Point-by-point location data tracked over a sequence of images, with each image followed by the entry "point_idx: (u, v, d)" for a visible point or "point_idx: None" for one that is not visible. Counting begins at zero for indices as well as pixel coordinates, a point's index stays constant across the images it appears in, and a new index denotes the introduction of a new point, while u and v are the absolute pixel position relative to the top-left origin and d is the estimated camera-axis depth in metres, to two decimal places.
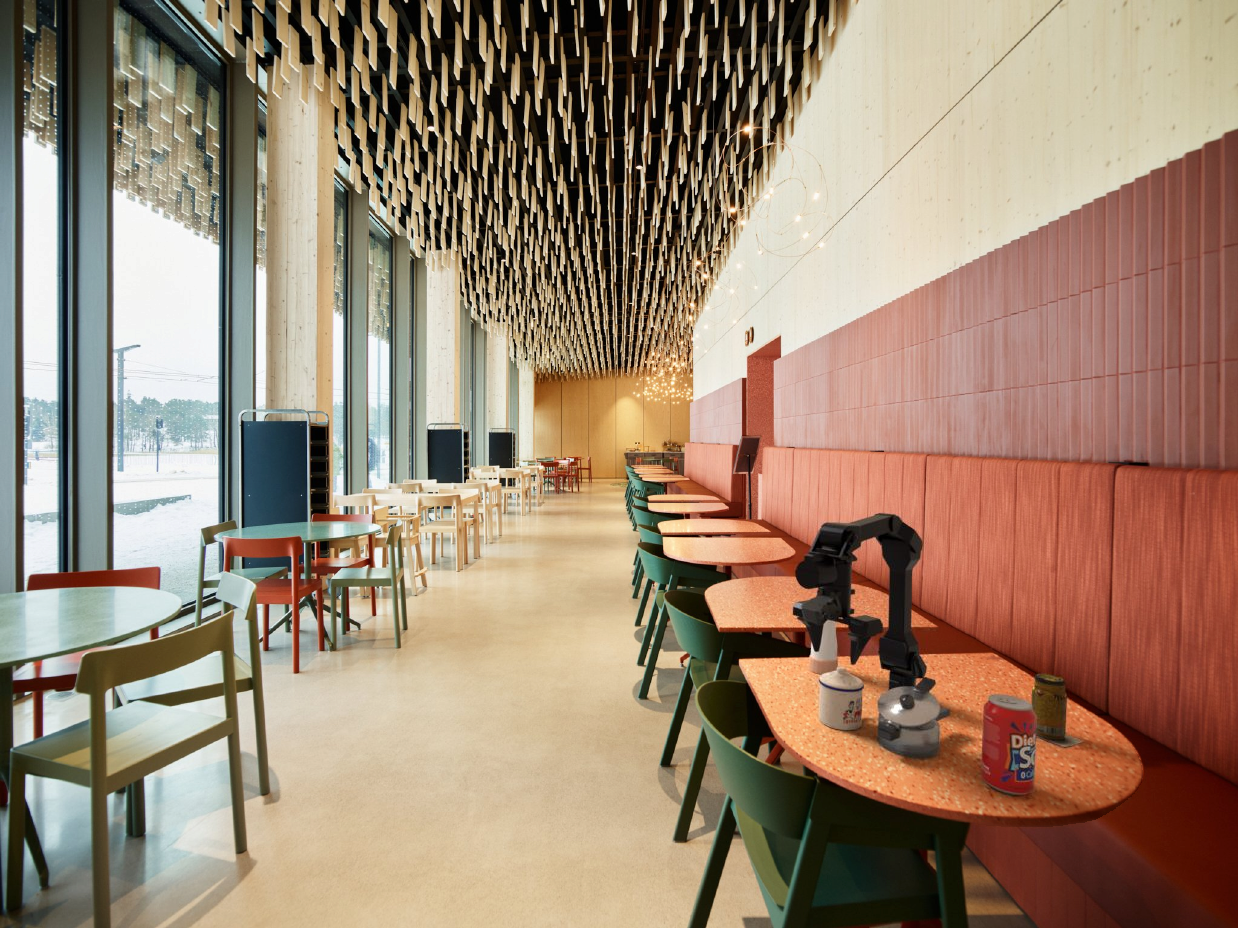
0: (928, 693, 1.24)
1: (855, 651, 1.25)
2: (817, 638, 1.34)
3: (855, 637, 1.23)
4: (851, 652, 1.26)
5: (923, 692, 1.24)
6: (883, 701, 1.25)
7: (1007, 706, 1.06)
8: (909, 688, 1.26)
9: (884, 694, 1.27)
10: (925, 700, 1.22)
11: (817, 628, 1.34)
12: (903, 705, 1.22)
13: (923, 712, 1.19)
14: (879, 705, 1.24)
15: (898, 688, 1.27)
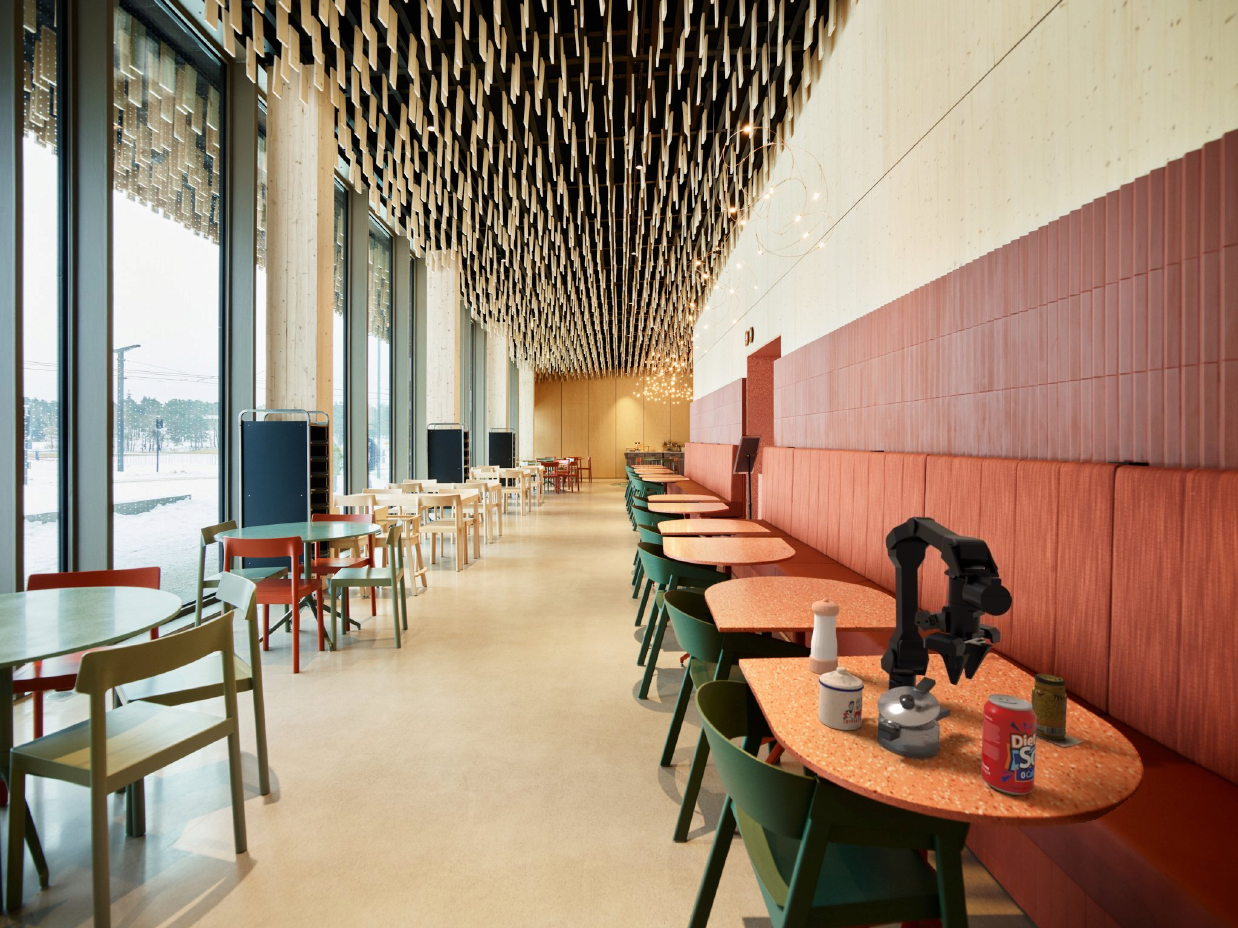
0: (928, 693, 1.24)
1: (947, 668, 1.21)
2: (969, 664, 1.24)
3: None
4: None
5: (923, 692, 1.24)
6: (883, 701, 1.25)
7: (1007, 706, 1.06)
8: (909, 688, 1.26)
9: (884, 694, 1.27)
10: (925, 700, 1.22)
11: (972, 654, 1.24)
12: (903, 705, 1.22)
13: (923, 712, 1.19)
14: (879, 705, 1.24)
15: (898, 688, 1.27)
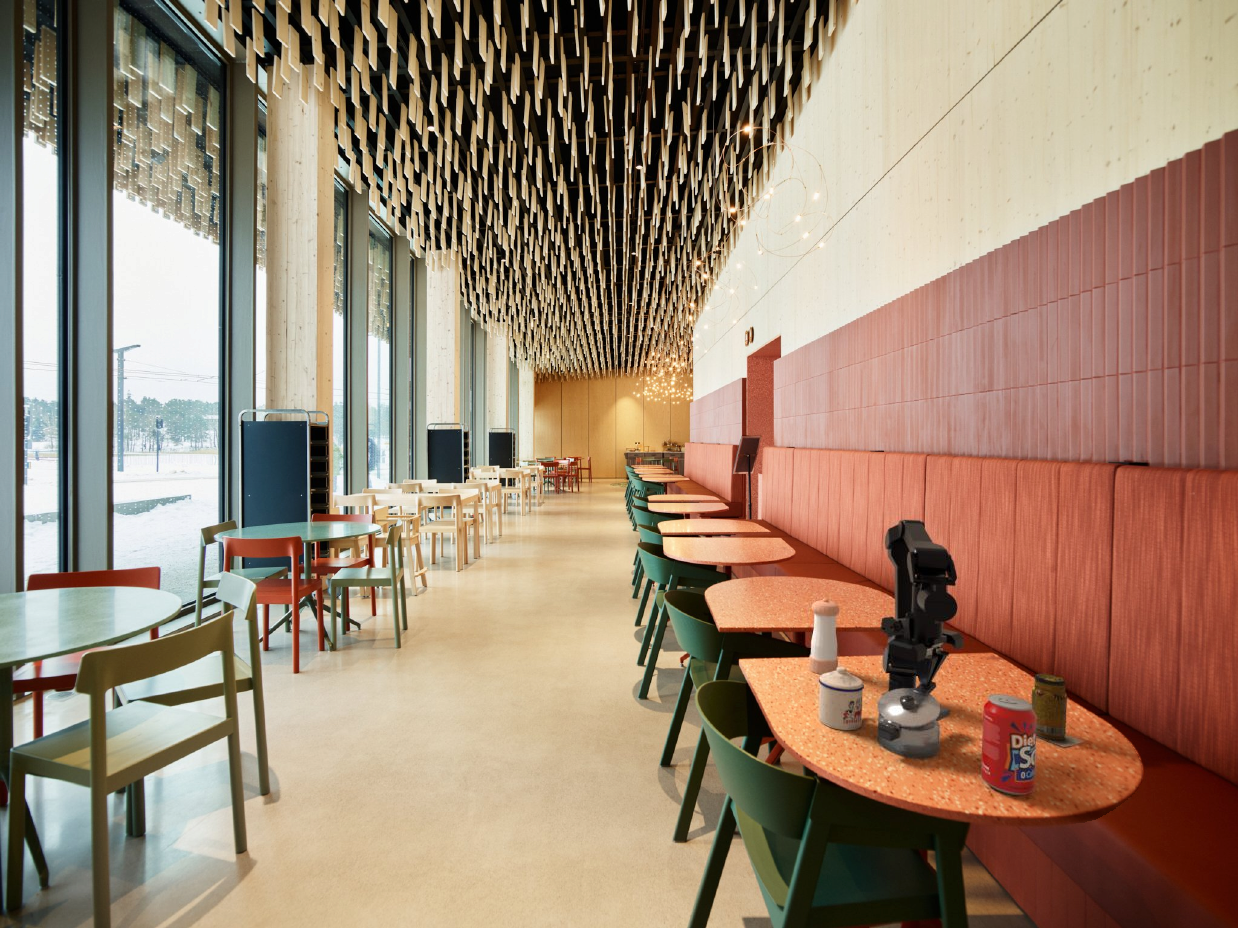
0: (928, 695, 1.24)
1: (917, 670, 1.26)
2: None
3: None
4: None
5: (923, 694, 1.24)
6: (883, 701, 1.25)
7: (1007, 706, 1.06)
8: (910, 690, 1.26)
9: (884, 695, 1.27)
10: (926, 701, 1.22)
11: None
12: (904, 706, 1.22)
13: (923, 713, 1.19)
14: (879, 706, 1.24)
15: (898, 690, 1.28)
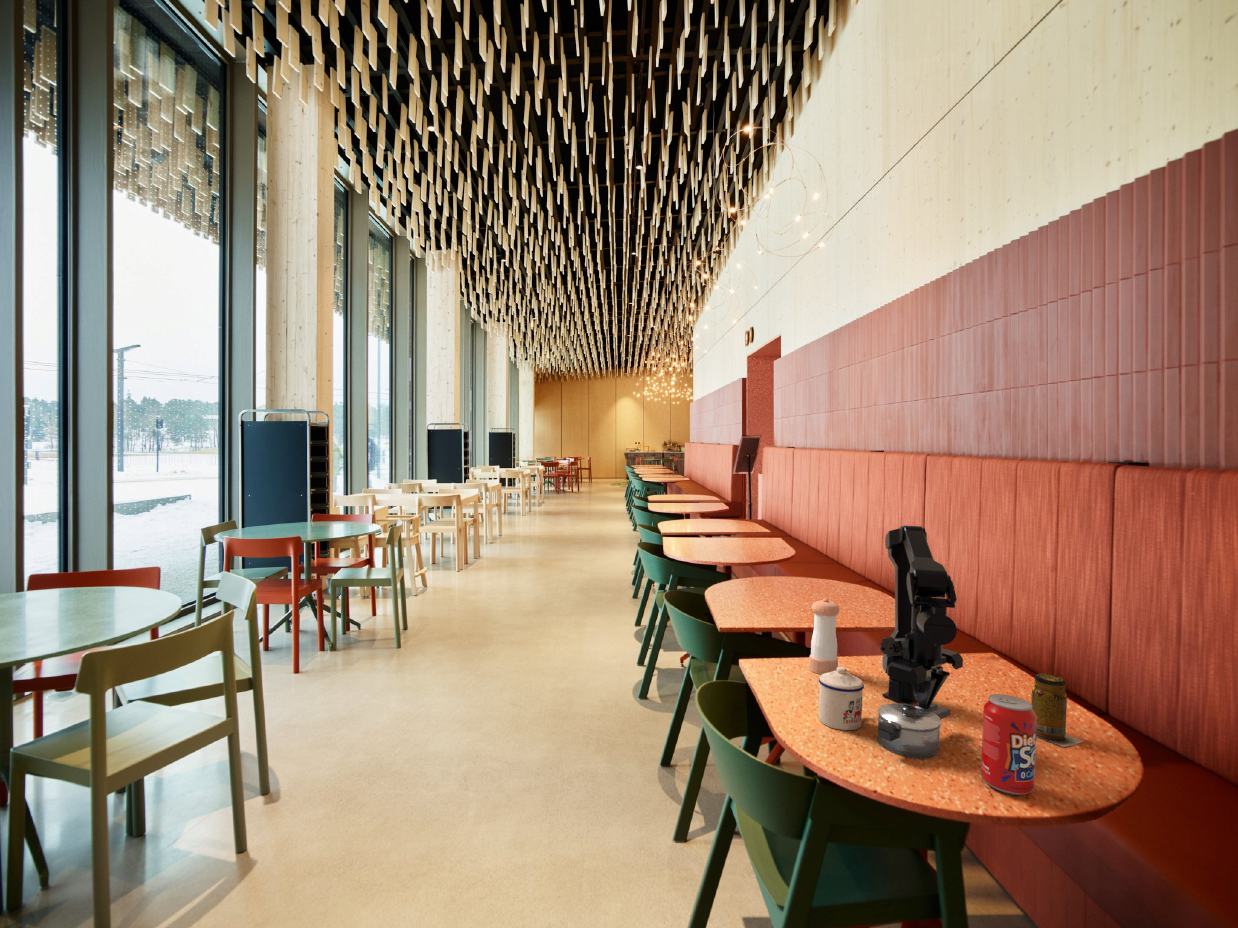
0: (930, 712, 1.24)
1: (915, 692, 1.26)
2: None
3: None
4: None
5: (925, 710, 1.25)
6: (884, 708, 1.26)
7: (1007, 706, 1.06)
8: (911, 706, 1.27)
9: (885, 705, 1.27)
10: (927, 715, 1.23)
11: None
12: (905, 713, 1.22)
13: (924, 722, 1.20)
14: (880, 710, 1.24)
15: (900, 704, 1.28)
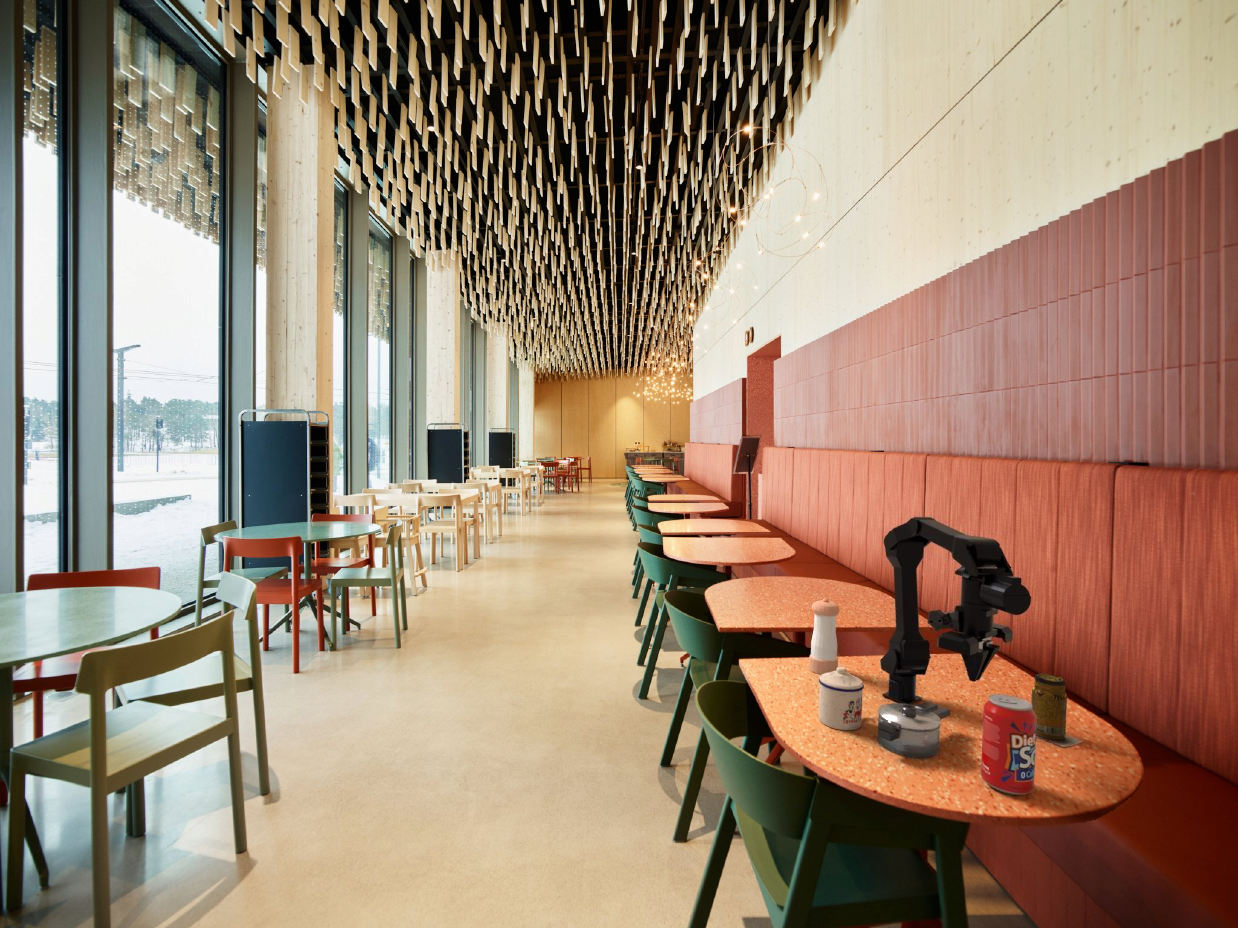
0: (930, 712, 1.24)
1: (966, 665, 1.23)
2: None
3: None
4: None
5: (925, 710, 1.25)
6: (884, 708, 1.26)
7: (1007, 706, 1.06)
8: (911, 706, 1.27)
9: (885, 705, 1.27)
10: (927, 715, 1.23)
11: None
12: (905, 713, 1.22)
13: (924, 722, 1.20)
14: (880, 710, 1.24)
15: (900, 704, 1.28)
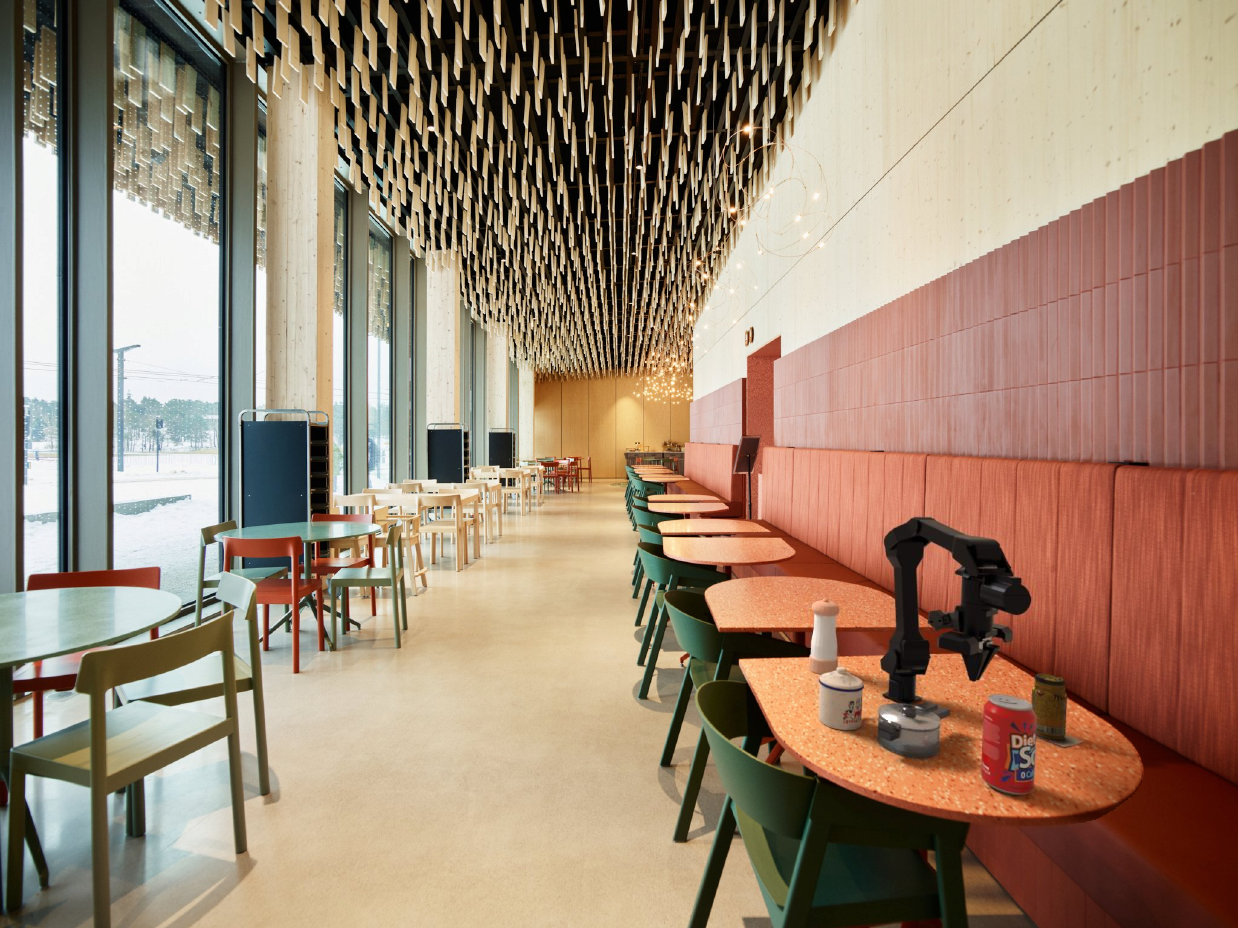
0: (930, 712, 1.24)
1: (966, 665, 1.23)
2: None
3: None
4: None
5: (925, 710, 1.25)
6: (884, 708, 1.26)
7: (1007, 706, 1.06)
8: (911, 706, 1.27)
9: (885, 705, 1.27)
10: (927, 715, 1.23)
11: None
12: (905, 713, 1.22)
13: (924, 722, 1.20)
14: (880, 710, 1.24)
15: (900, 704, 1.28)
